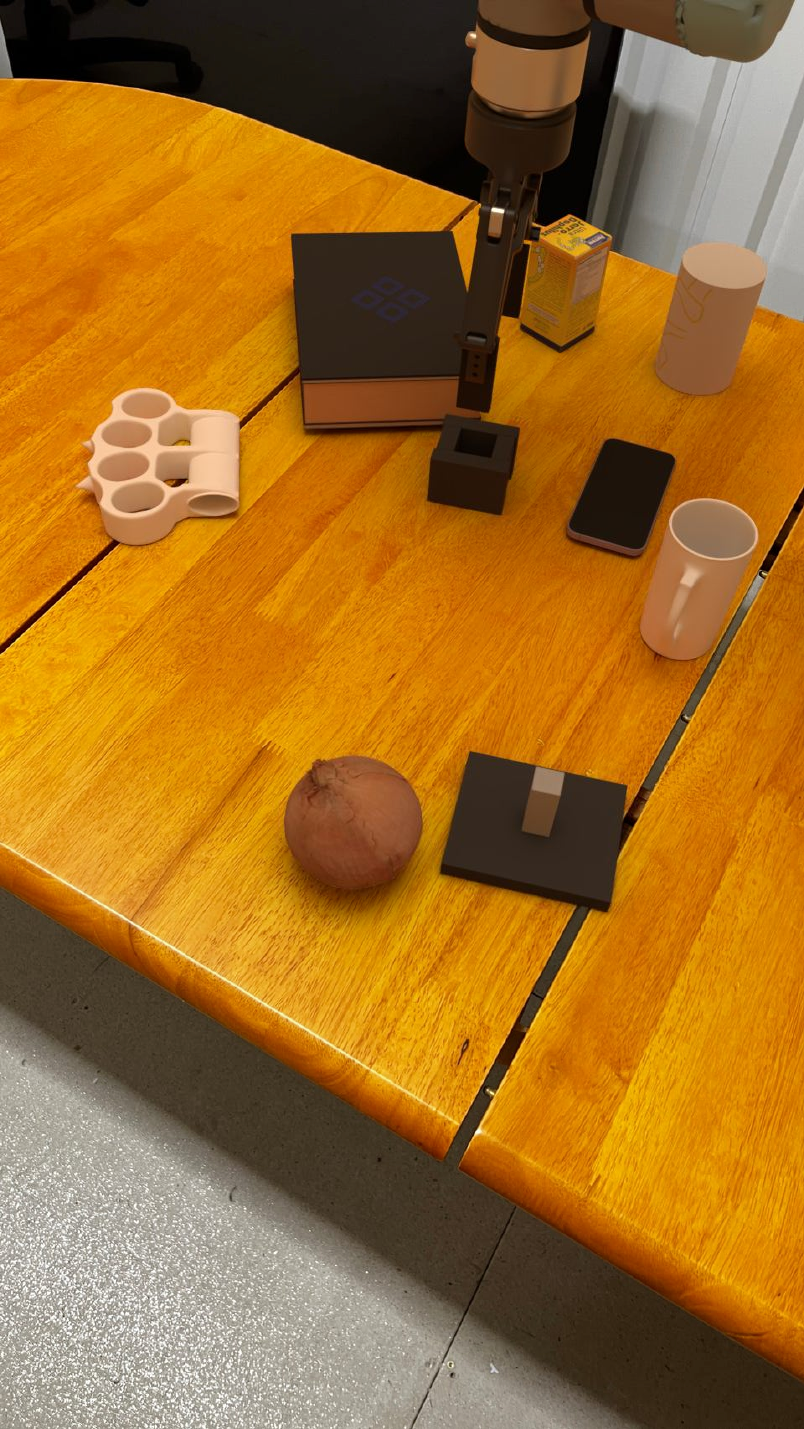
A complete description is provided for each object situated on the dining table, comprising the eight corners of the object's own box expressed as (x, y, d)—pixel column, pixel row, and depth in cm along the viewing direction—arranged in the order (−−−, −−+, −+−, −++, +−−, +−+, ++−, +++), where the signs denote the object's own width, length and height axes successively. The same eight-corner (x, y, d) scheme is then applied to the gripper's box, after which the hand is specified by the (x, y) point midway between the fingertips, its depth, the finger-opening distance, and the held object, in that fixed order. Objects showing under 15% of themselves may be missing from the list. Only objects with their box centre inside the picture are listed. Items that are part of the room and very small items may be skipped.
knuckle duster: (240, 543, 97) (71, 548, 96) (240, 414, 108) (89, 417, 107) (237, 514, 95) (63, 519, 93) (238, 385, 105) (82, 388, 104)
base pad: (623, 796, 83) (643, 741, 77) (607, 912, 77) (627, 862, 71) (467, 761, 84) (476, 706, 78) (439, 873, 78) (446, 822, 72)
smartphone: (679, 455, 106) (643, 553, 97) (676, 464, 107) (640, 562, 98) (605, 435, 107) (564, 529, 98) (603, 444, 108) (562, 539, 99)
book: (303, 436, 106) (301, 378, 101) (292, 290, 121) (290, 233, 116) (480, 430, 108) (487, 373, 103) (448, 287, 123) (453, 230, 118)
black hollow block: (513, 469, 105) (520, 427, 101) (501, 515, 101) (507, 473, 97) (442, 456, 105) (445, 413, 101) (426, 501, 101) (430, 458, 98)
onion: (303, 864, 81) (240, 775, 75) (408, 794, 83) (354, 700, 76) (352, 945, 74) (286, 854, 68) (466, 866, 75) (412, 769, 69)
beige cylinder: (650, 345, 118) (677, 239, 108) (726, 350, 118) (760, 244, 108) (658, 392, 113) (687, 286, 103) (737, 397, 113) (773, 291, 103)
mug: (653, 592, 96) (687, 487, 86) (727, 622, 94) (769, 517, 84) (609, 669, 90) (640, 566, 81) (686, 702, 88) (727, 600, 79)
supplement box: (553, 308, 121) (569, 212, 112) (595, 332, 119) (614, 236, 110) (517, 329, 119) (530, 232, 110) (559, 354, 116) (577, 257, 107)
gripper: (503, 14, 83) (475, 271, 100) (430, 172, 69) (411, 442, 86) (601, 29, 82) (556, 286, 99) (548, 192, 68) (506, 461, 85)
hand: (489, 359), depth 93 cm, fingers open, 13 cm apart
